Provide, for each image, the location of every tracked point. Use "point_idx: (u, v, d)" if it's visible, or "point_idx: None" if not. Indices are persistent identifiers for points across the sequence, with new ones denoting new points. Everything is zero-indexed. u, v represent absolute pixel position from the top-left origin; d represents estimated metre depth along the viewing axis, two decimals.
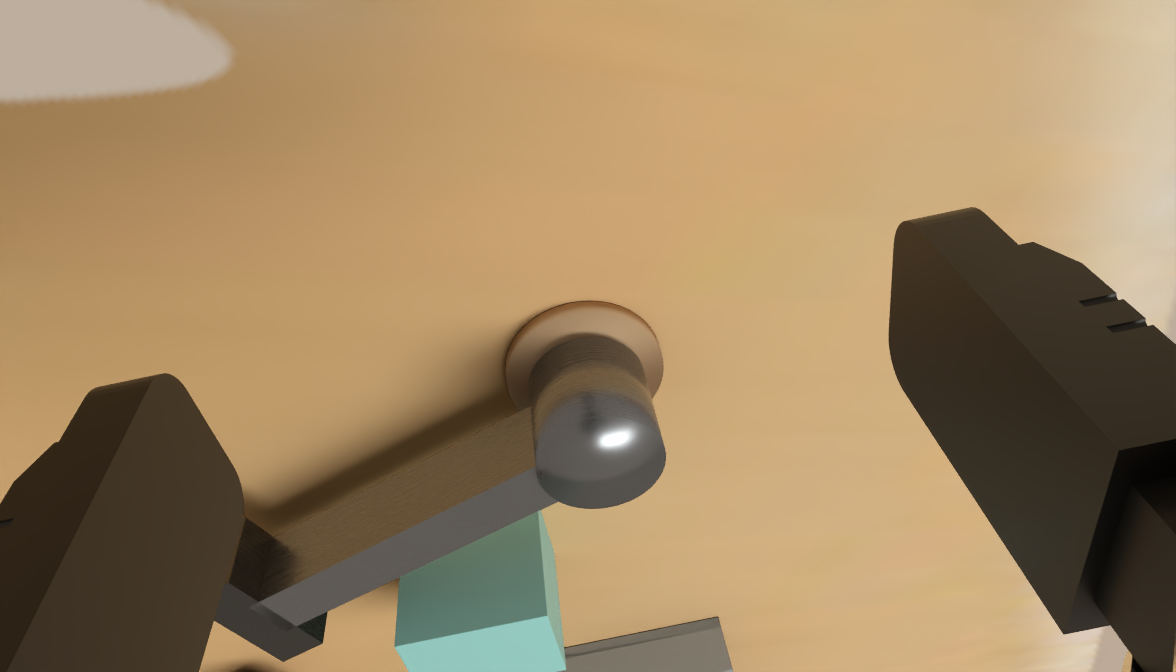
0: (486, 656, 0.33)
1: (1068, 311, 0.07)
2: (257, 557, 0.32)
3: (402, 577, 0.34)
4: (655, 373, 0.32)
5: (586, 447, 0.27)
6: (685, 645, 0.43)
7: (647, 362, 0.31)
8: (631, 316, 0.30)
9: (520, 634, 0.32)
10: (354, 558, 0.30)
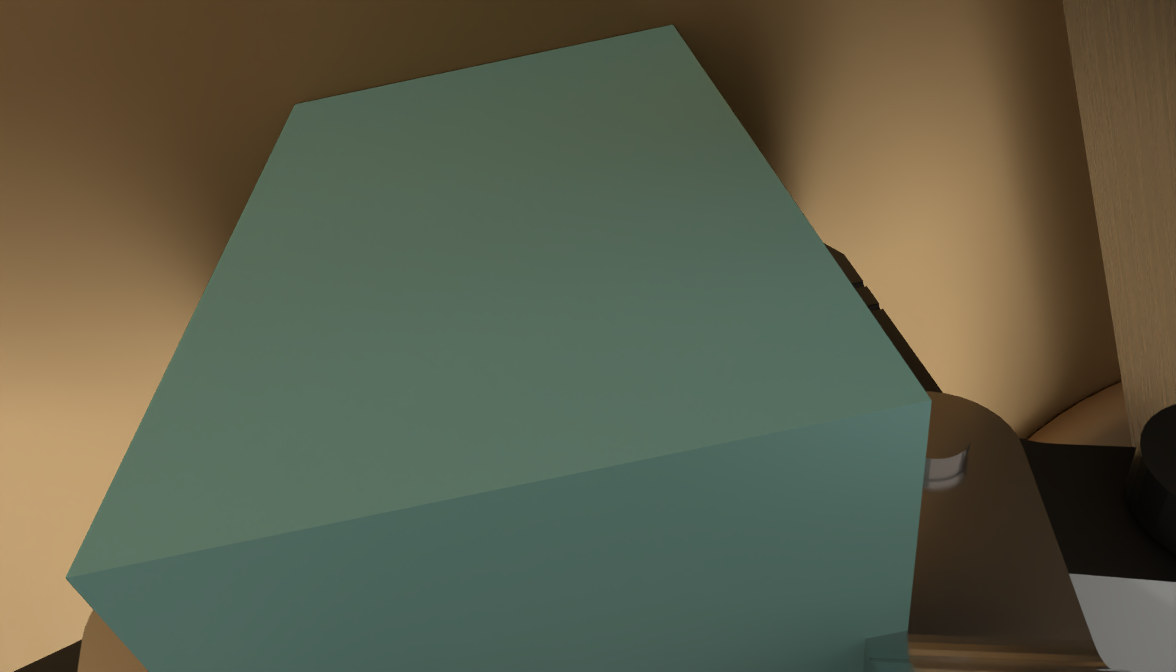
0: None
1: None
2: None
3: None
4: None
5: None
6: None
7: None
8: None
9: None
10: None
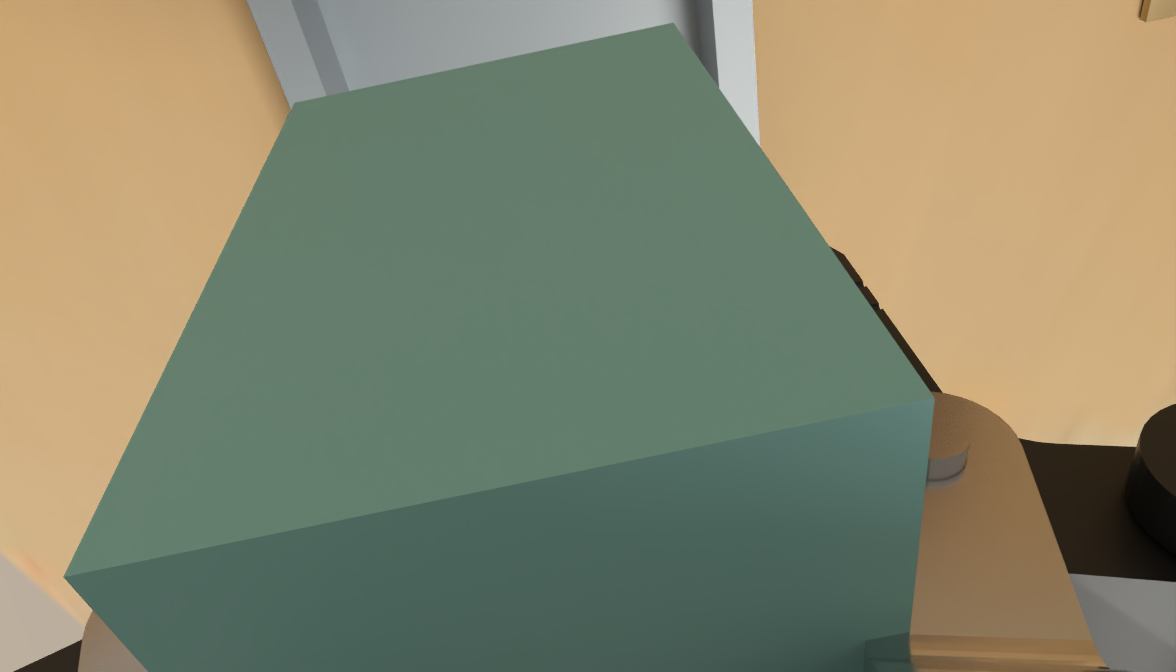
0: None
1: None
2: None
3: None
4: None
5: None
6: None
7: None
8: None
9: None
10: None
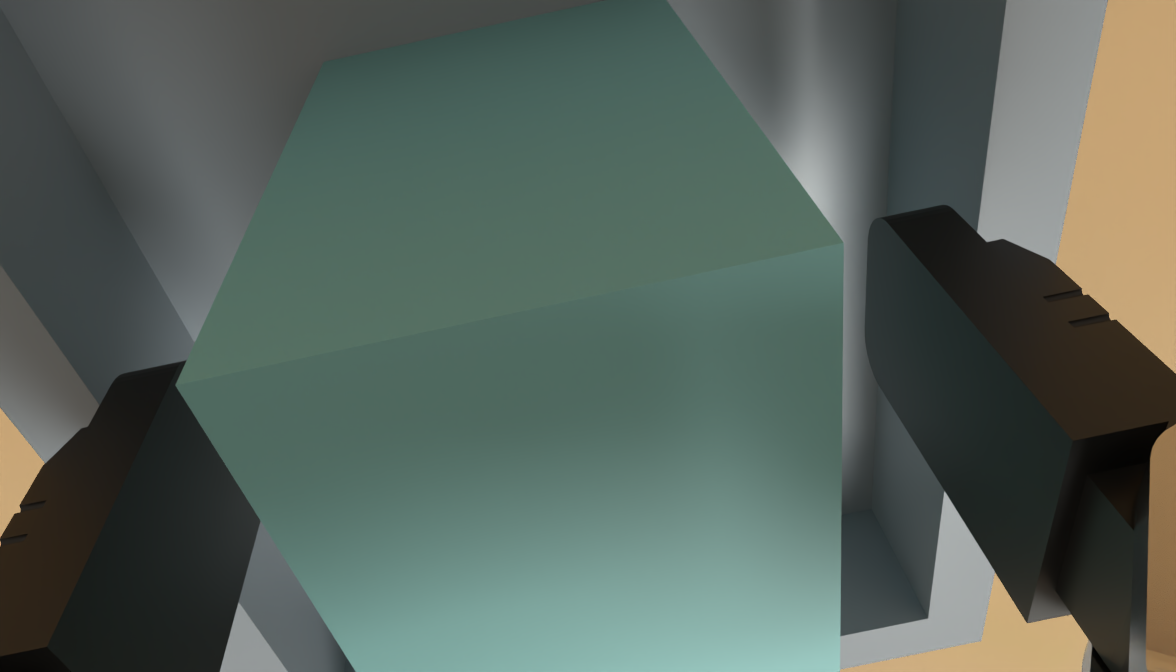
0: (615, 620, 0.07)
1: (1030, 306, 0.07)
2: None
3: None
4: None
5: None
6: None
7: None
8: None
9: None
10: None
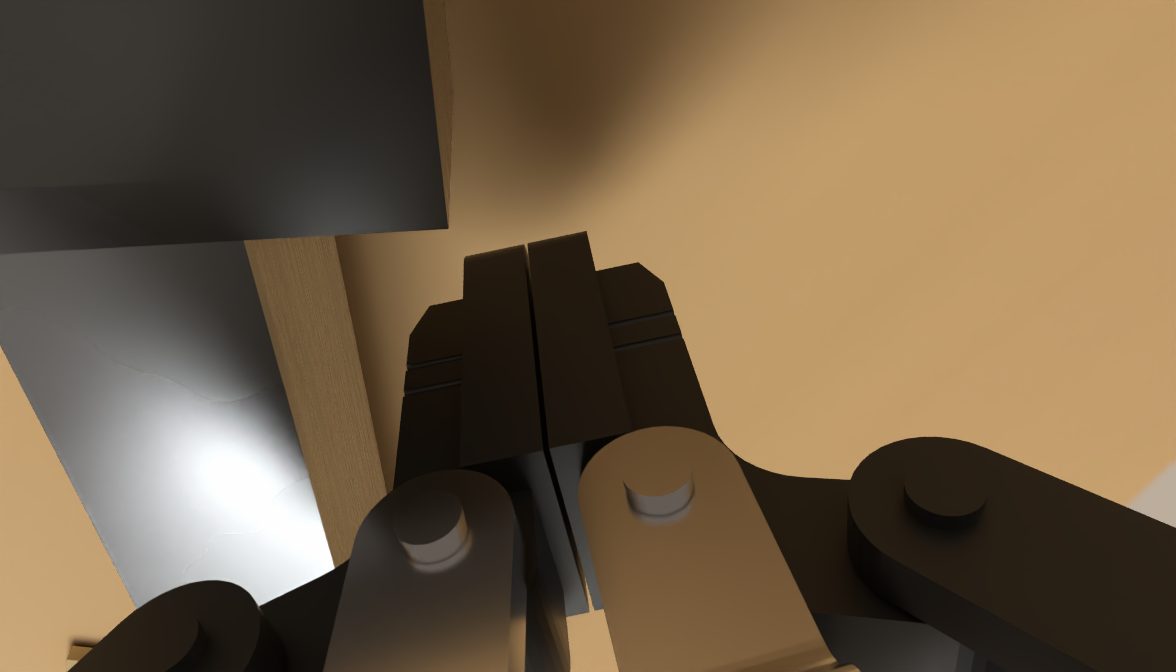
0: None
1: (593, 327, 0.08)
2: None
3: None
4: None
5: None
6: None
7: None
8: None
9: None
10: None
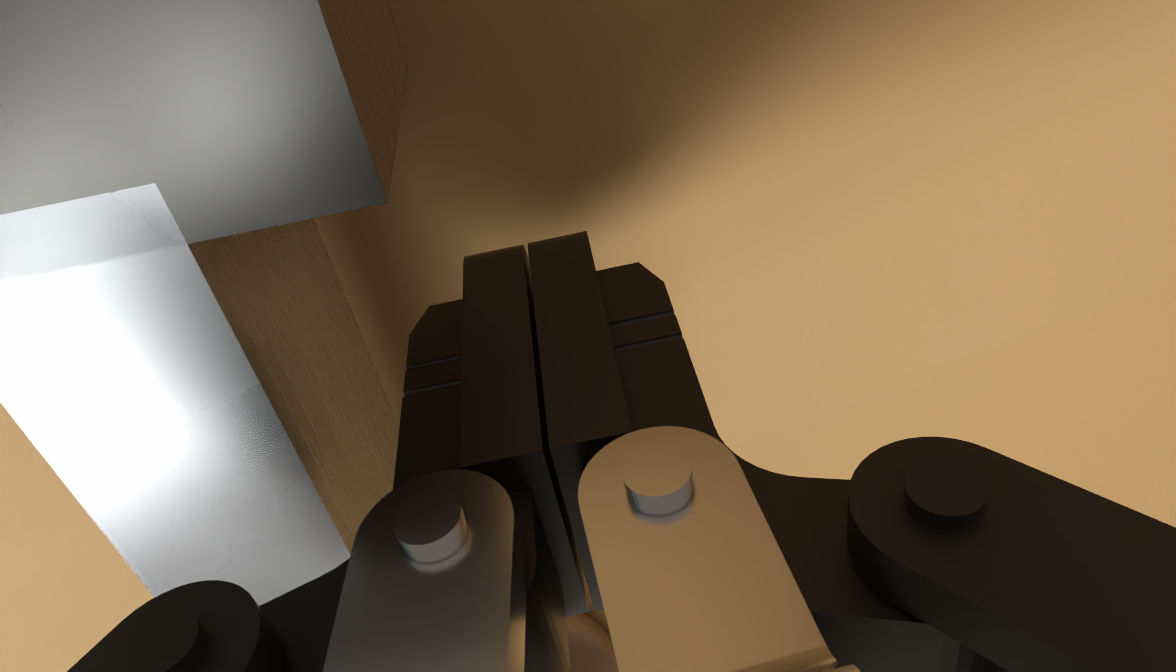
0: None
1: (593, 327, 0.08)
2: None
3: None
4: None
5: None
6: None
7: None
8: None
9: None
10: None
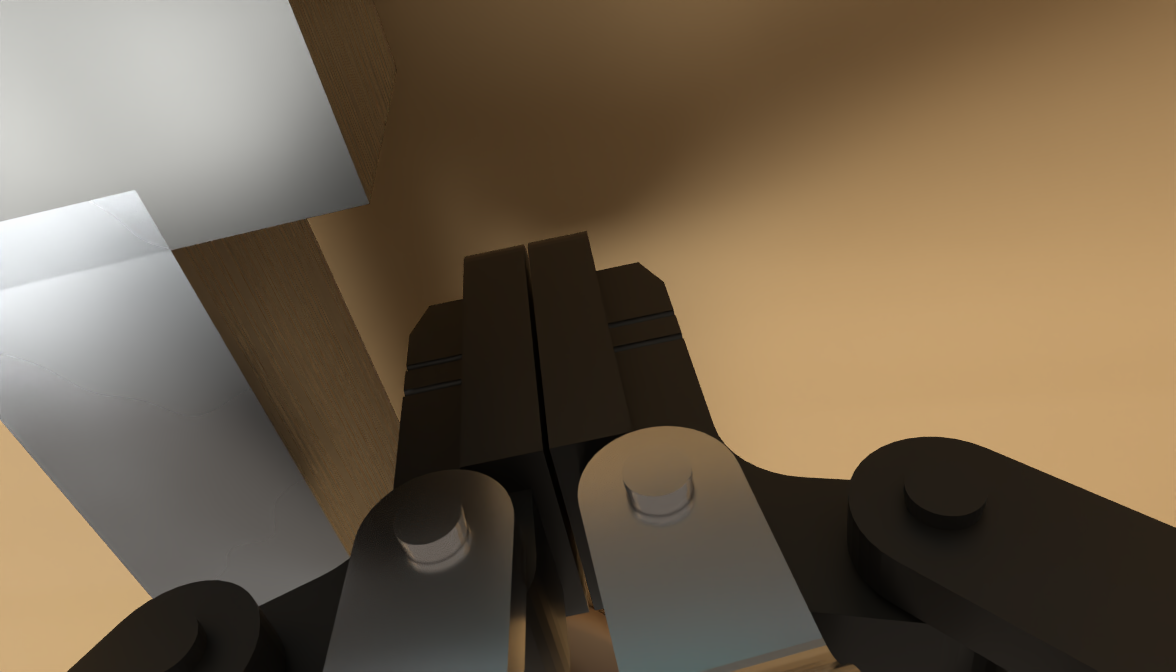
0: None
1: (593, 327, 0.08)
2: None
3: None
4: None
5: None
6: None
7: None
8: None
9: None
10: None
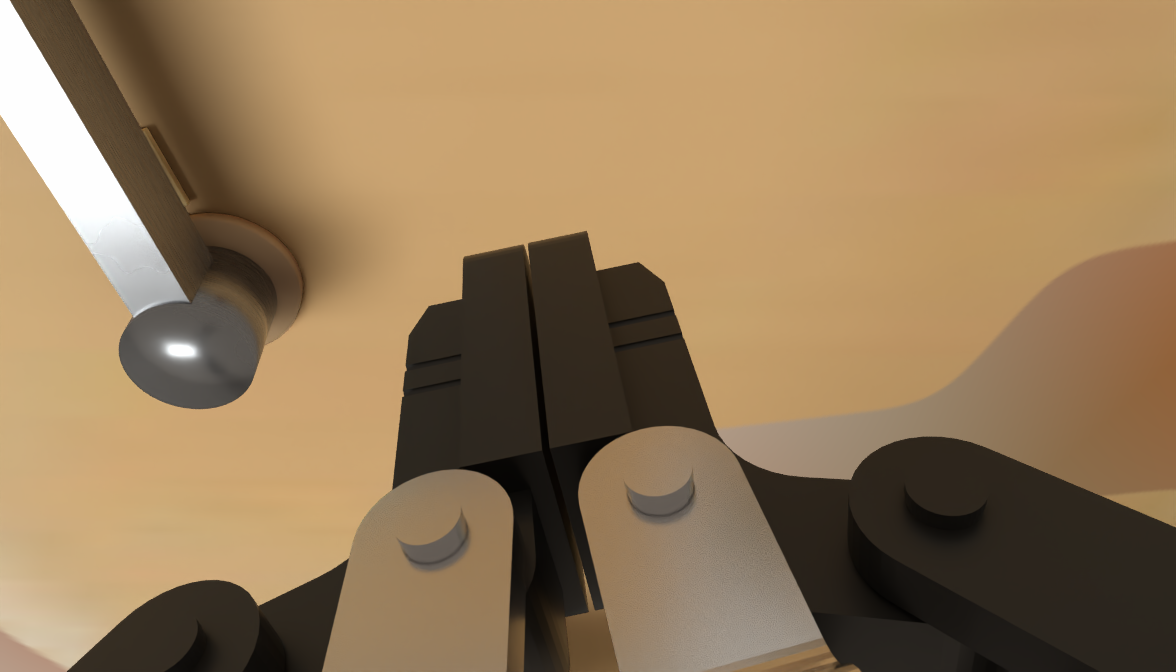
0: None
1: (593, 327, 0.08)
2: None
3: None
4: None
5: (216, 354, 0.29)
6: None
7: None
8: None
9: None
10: (53, 83, 0.23)
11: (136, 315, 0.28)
